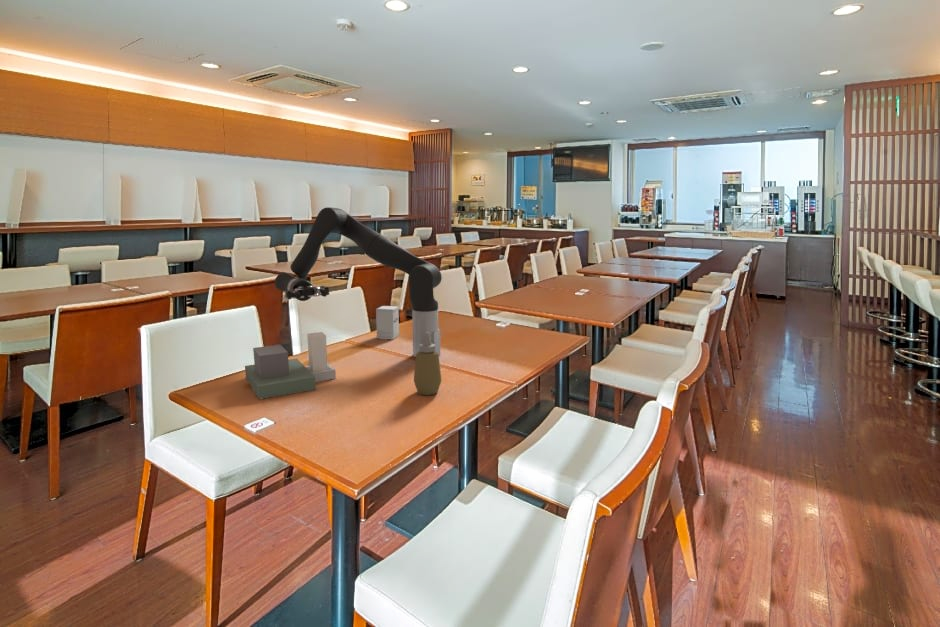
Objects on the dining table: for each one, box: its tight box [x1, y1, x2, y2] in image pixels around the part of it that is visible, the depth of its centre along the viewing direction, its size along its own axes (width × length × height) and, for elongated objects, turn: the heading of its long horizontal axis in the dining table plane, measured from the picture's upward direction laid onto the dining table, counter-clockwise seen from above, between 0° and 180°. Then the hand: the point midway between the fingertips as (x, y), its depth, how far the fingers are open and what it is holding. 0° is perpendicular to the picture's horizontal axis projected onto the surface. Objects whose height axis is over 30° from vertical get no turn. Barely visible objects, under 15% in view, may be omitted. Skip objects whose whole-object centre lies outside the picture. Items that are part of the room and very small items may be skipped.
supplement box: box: [375, 305, 400, 341], centre depth 217 cm, size 7×7×13 cm
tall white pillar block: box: [307, 331, 329, 373], centre depth 167 cm, size 5×5×14 cm
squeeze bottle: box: [413, 332, 442, 396], centre depth 153 cm, size 8×8×18 cm
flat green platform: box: [244, 344, 337, 400], centre depth 163 cm, size 24×22×11 cm
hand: (312, 294), depth 177 cm, fingers open, 8 cm apart
